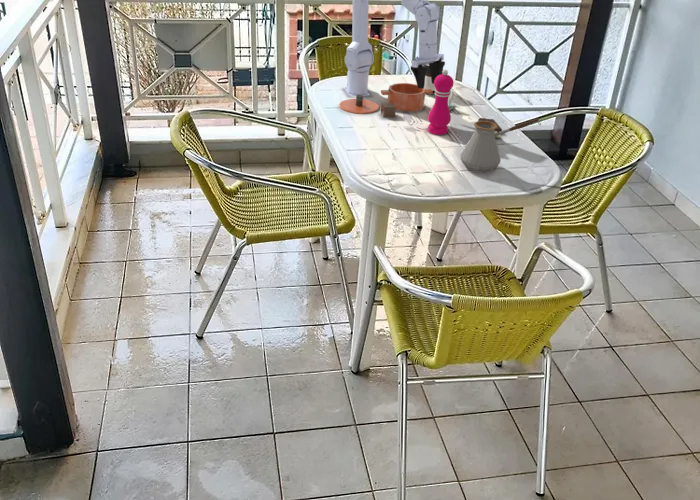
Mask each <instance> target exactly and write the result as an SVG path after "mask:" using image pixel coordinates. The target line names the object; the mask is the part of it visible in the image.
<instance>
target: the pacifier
mask: <svg viewBox="0 0 700 500" xmlns="http://www.w3.org/2000/svg"><path fill="white" fill-rule="evenodd" d="M454 97H455V92H454V91H453V90H451V93H450V96H449V98H448V108H449V111H452V109H453V108H457V107H458V105H455V104H454V103H453V101H452V100H453V99H454Z"/></svg>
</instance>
